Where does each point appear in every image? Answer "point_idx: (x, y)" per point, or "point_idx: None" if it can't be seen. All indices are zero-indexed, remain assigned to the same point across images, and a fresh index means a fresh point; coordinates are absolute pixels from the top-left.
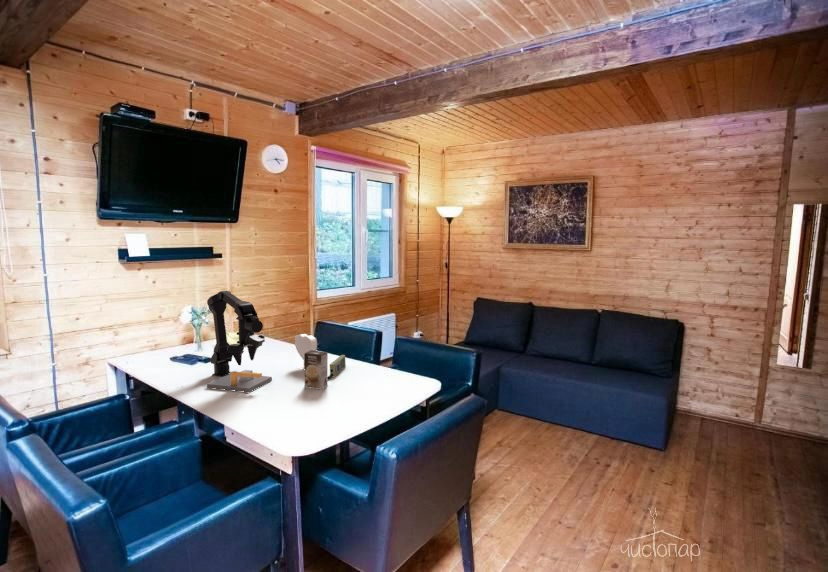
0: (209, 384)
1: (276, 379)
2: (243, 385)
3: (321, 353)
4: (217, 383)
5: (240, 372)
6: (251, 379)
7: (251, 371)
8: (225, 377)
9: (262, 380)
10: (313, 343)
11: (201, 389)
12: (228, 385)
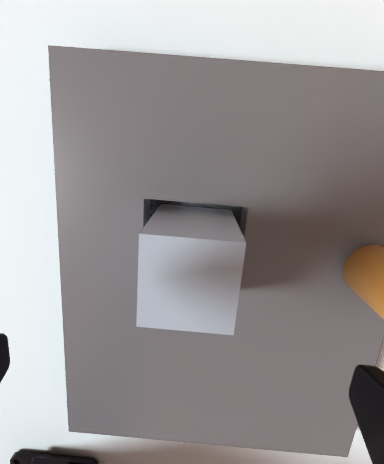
0: (350, 436)
1: (13, 38)
2: (370, 181)
3: None
4: (332, 401)
5: None
6: (176, 212)
7: (163, 233)
8: (184, 421)
9: (189, 79)
10: None
11: (360, 441)
12: None
